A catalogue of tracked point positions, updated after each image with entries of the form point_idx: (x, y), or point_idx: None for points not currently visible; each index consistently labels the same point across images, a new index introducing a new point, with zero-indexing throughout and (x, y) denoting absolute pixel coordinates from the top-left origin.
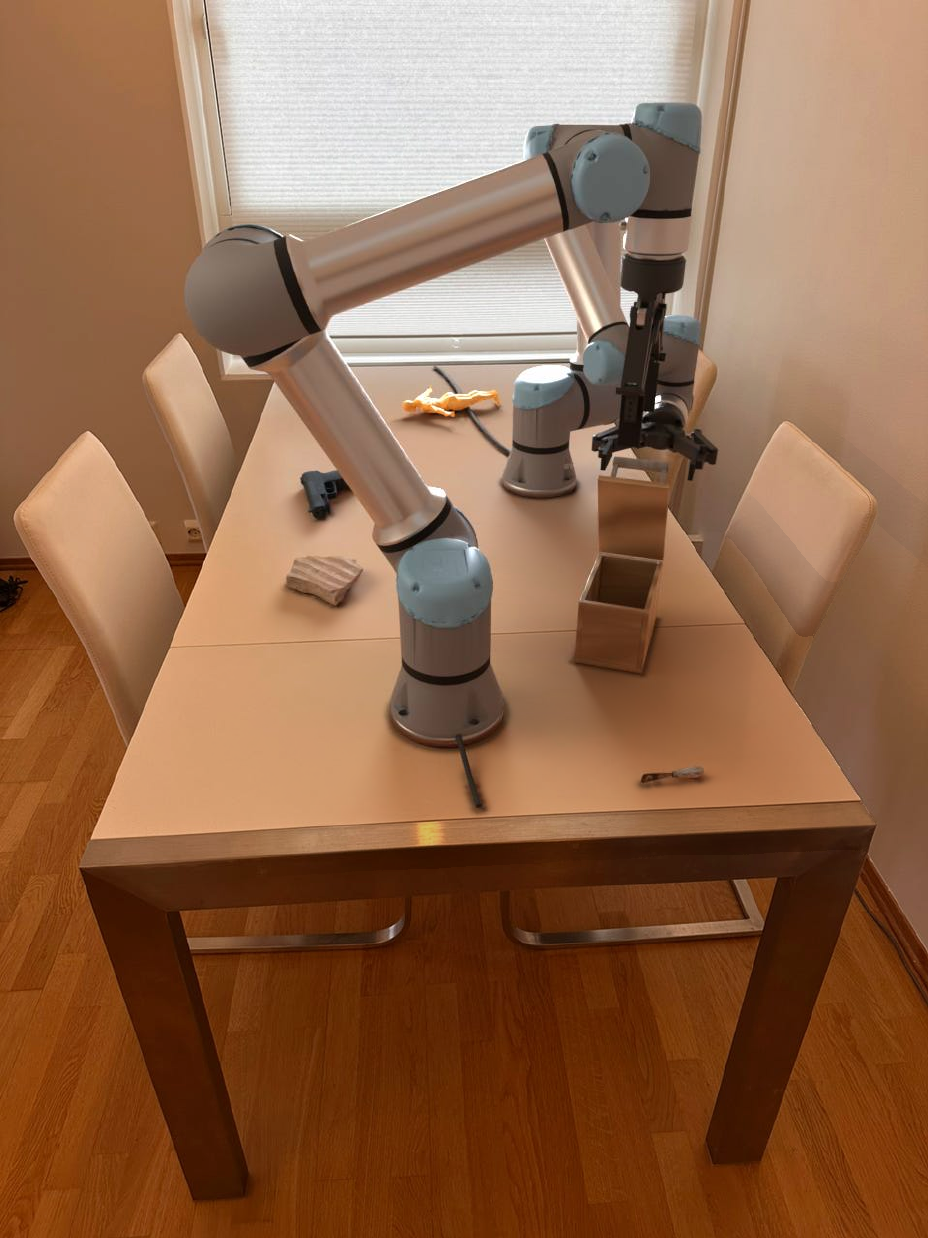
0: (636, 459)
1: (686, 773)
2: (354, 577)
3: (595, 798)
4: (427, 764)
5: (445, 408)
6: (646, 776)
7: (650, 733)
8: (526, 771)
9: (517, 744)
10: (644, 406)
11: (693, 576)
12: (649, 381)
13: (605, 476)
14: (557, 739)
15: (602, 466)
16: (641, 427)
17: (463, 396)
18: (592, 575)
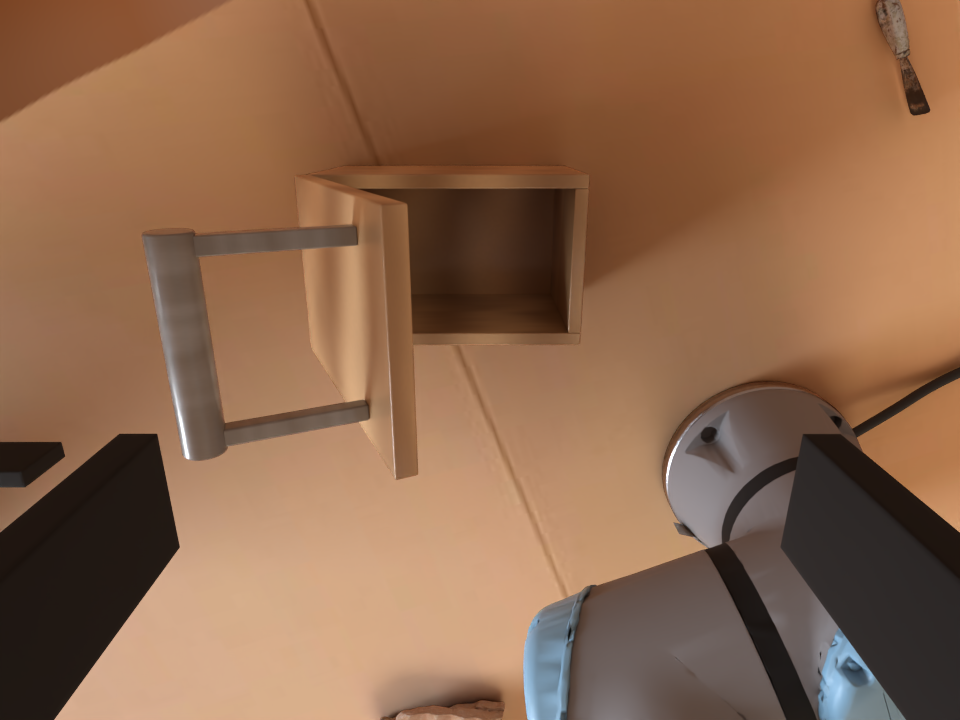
0: (185, 375)
1: (906, 28)
2: (441, 715)
3: (947, 187)
4: (884, 453)
5: None
6: (921, 105)
7: (757, 118)
8: (888, 311)
9: (821, 341)
10: (153, 509)
11: (105, 98)
12: (27, 629)
13: (397, 456)
14: (799, 281)
15: (54, 457)
16: (883, 499)
17: None
18: (445, 338)
